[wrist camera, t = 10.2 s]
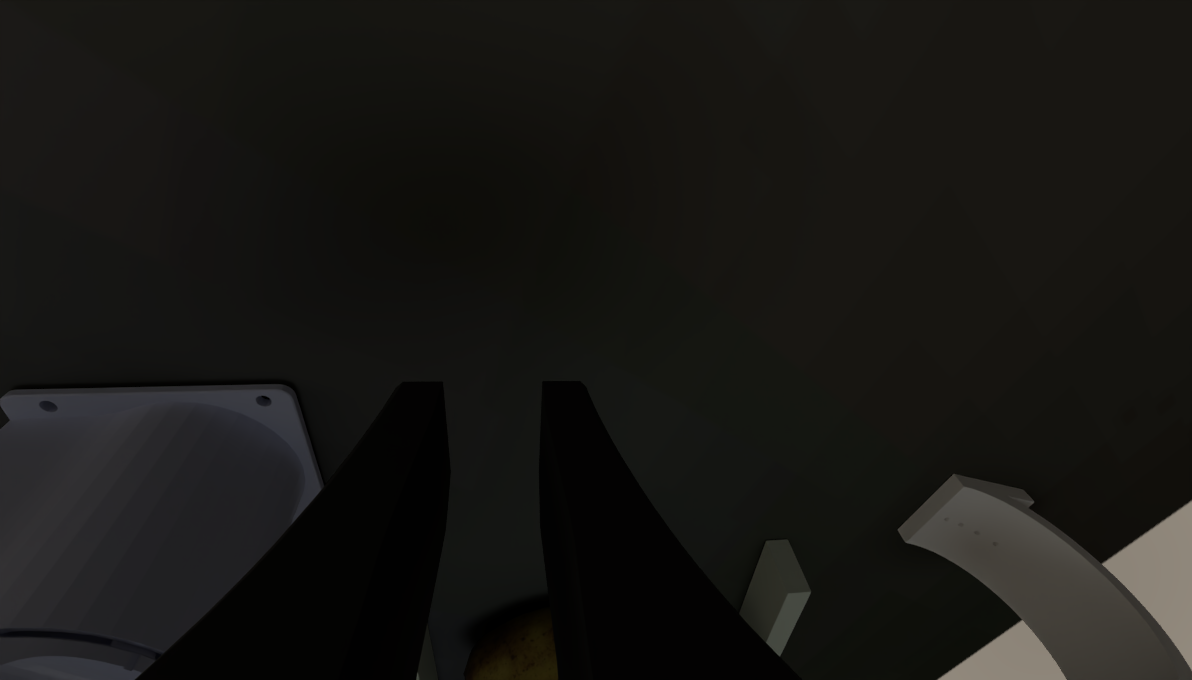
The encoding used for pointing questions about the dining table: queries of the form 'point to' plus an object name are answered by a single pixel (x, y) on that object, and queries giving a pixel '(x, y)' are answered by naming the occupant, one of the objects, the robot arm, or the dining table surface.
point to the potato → (516, 650)
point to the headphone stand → (1046, 582)
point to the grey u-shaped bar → (764, 608)
